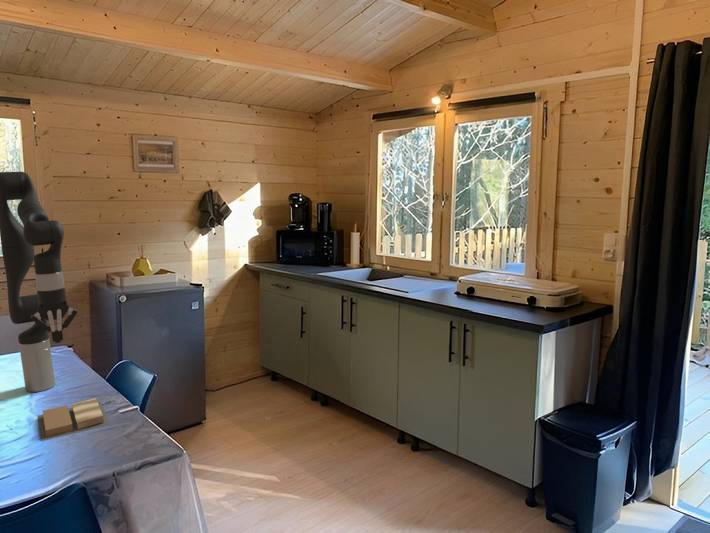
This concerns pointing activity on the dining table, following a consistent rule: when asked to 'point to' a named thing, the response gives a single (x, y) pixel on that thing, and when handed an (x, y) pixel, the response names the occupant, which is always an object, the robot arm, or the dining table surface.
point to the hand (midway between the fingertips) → (57, 342)
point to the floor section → (63, 422)
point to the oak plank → (87, 413)
